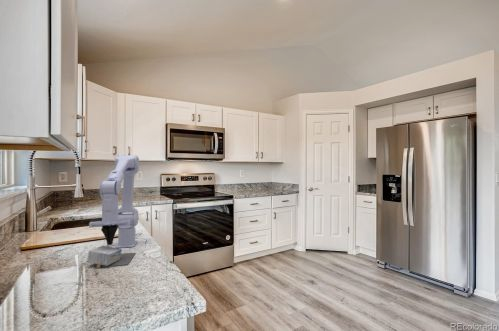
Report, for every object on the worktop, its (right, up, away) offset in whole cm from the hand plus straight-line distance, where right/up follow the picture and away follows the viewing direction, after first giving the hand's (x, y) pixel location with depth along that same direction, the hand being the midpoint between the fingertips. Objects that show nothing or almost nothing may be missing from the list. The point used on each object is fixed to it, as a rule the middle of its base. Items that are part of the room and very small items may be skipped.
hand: (110, 244), depth 100 cm
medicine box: (-5, -3, -2) cm, 6 cm away
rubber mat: (+3, -7, +2) cm, 8 cm away
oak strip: (-2, -7, -1) cm, 7 cm away
